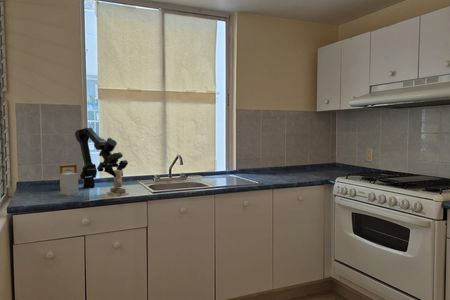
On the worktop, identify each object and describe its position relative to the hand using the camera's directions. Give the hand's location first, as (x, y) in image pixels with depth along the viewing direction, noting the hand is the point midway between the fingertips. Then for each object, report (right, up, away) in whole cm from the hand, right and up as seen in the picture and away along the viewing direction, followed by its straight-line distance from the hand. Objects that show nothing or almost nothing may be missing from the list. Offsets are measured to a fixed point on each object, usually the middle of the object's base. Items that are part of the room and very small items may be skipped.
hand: (119, 176), depth 205 cm
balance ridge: (-1, -11, +2) cm, 11 cm away
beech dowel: (-1, -7, +1) cm, 7 cm away
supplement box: (-30, -11, 0) cm, 32 cm away
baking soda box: (-39, -10, +18) cm, 44 cm away
